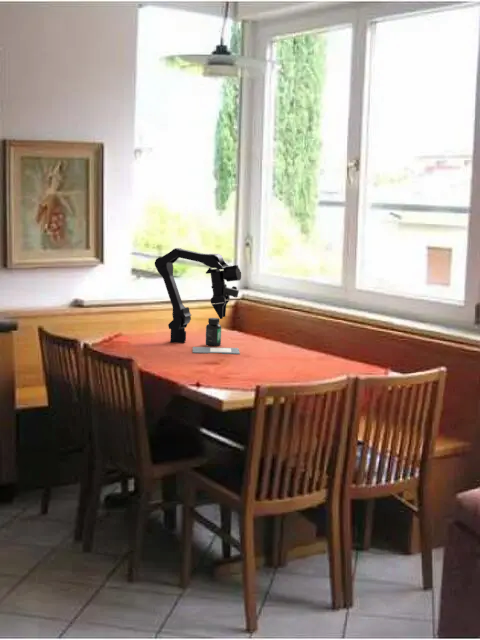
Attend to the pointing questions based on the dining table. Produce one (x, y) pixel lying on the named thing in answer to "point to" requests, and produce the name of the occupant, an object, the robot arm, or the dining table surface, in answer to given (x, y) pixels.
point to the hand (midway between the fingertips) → (222, 317)
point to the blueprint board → (216, 350)
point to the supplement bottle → (213, 332)
